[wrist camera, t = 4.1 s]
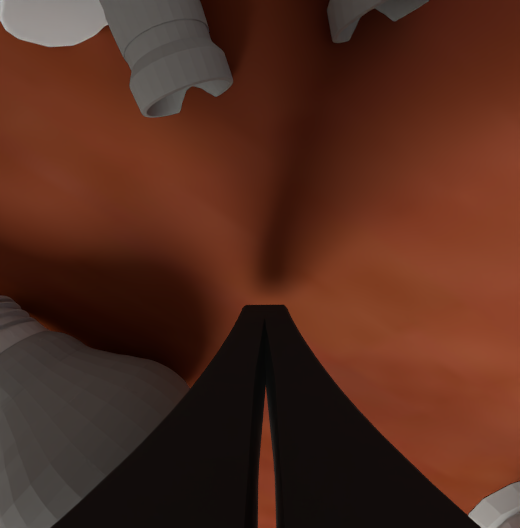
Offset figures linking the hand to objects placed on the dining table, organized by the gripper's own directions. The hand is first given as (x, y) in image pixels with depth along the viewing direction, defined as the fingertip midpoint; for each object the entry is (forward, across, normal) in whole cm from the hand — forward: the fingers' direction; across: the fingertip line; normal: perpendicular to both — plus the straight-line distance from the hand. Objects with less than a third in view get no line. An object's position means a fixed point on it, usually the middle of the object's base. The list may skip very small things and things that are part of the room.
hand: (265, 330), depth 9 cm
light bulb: (0, +11, -1) cm, 11 cm away
